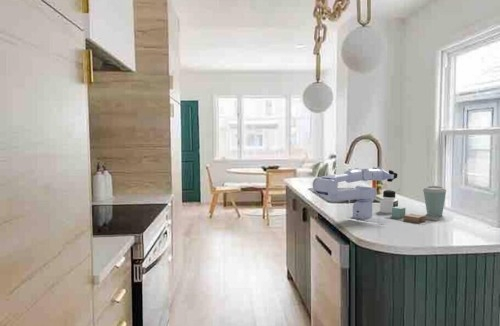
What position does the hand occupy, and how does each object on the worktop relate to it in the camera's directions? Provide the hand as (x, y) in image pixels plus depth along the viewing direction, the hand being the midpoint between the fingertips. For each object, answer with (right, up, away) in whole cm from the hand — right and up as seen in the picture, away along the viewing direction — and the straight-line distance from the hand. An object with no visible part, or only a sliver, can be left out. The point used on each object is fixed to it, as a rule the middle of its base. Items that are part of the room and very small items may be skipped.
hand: (390, 174), depth 213 cm
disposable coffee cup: (+20, -21, -5) cm, 30 cm away
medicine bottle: (0, -20, +3) cm, 21 cm away
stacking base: (+4, -22, -17) cm, 28 cm away
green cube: (0, -20, -11) cm, 23 cm away
